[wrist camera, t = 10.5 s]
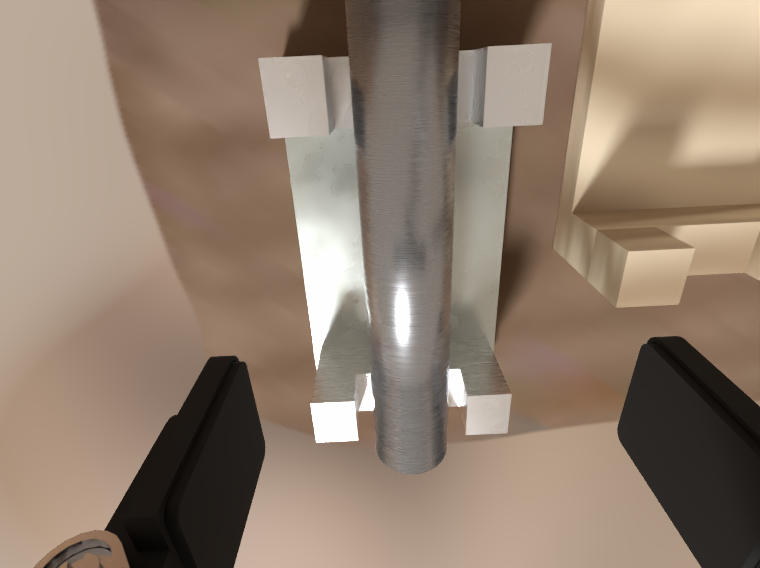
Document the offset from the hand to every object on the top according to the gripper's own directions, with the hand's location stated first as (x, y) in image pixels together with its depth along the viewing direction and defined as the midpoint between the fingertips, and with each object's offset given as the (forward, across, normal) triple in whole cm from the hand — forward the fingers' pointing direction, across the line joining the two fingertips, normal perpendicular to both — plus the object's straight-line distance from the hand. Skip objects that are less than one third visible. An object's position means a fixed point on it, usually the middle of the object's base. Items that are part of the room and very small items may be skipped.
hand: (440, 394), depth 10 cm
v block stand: (+13, 0, +1) cm, 13 cm away
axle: (+8, 0, +1) cm, 8 cm away
